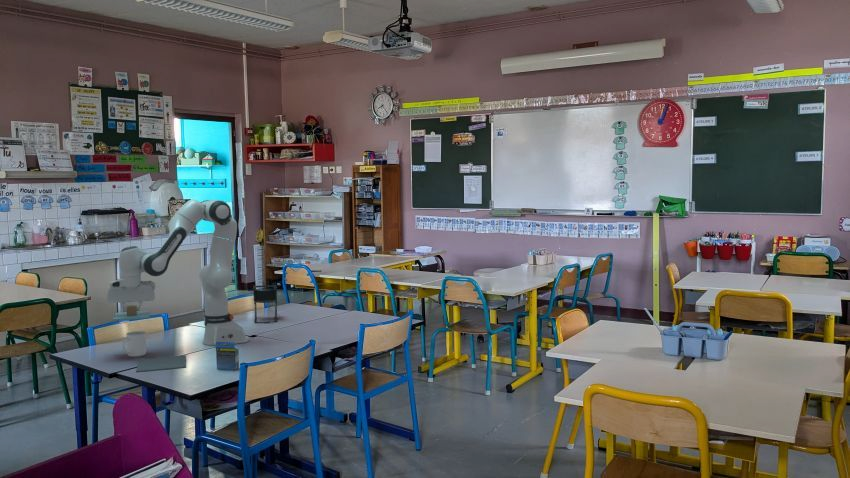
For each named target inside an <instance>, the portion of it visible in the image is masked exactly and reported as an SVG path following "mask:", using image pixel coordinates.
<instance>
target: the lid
mask: <svg viewBox="0 0 850 478" xmlns="http://www.w3.org/2000/svg"><path fill="white" fill-rule="evenodd" d="M136 307H138V305H136V304H135V305H127V306H126V308H127V312H124V311H122V312H115V314H114V316H113V317H112V321H113V322H114V321H116V322H117V321H127V320H128V321H129V320H131V321H133V320H143V319H144V320H147V319H150V315H151V310H140V311H136V310H137V309H136Z"/></svg>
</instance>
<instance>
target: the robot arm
mask: <svg viewBox="0 0 850 478" xmlns="http://www.w3.org/2000/svg"><path fill="white" fill-rule="evenodd" d="M170 218H171V219H170V220H169V222H168V225H167V227H168V228H167V229H168V231H169V234H168V237H167V239H165V241H164V243H162V245H161V247H160V248H159V250H158V251H156V252H151V251H148V250H147V251H146V250H145V249H142V248H140V247H138V246H137V245H133V246H128V247H123V248H122V249H121V251H120V252H119V269H120V274H119V278H117V279H115V280H112V281H110V282H109V288H108V291H107V297H106V302H107V303H108V304H118V303H120V306H121V307H122V308H123V312H127V307H126V306H125V303H133V302H135V303H136V302H138V304H139V305H138V306H137V307H136V309H137V310H136V311H137V312H138V311H141V307H142V305H143V302H151V301H155V298H156V295H155V294H156V293H155V289H156V283H155V282H154V281H152V280H142V273H146V274H148V275H149V276H152V277H160V276H162V275H163V274H165V273H166V272H167V270H168V268H169V264H170V262H171V261H170V260H171V259H172V257H173V256H174V255H175V253H176V252H177V251H178V249H179V248H180V246H181V245H182V243H183V242H184V240H186V238H187V237H188V236H189V235H190V233H191V232H192V231H193V230H194V228H196V226H197V225H198V224H199V222H201V221H206V222H209V223H213V225H214V231H213V233H212V234H213V235H212V237H211V238H212V239H211V244H210V248H209V255H210V257H209V258H210V259H209V264H207V265H204V266H202V267H201V268H200V270H199V278H200V282H201V287H202V293H203V298H204V317H203V321H204V322H203V323H204V333H203V340H202V344H203V345H207V346H215V347H216V342H234V344H235V345H236V344H245V343H248V342H249V341H250V337H249V336H248V335H246V334H245V330H244V328H243V327H242V326H241V325H240V324H238V323H237V322H235V321H234V318H235V317H234V315H233V314H231V313H229V301H228V300H229V299H228V295H227V292H226V289H225V288H228V287H229V286H230V285H231V284H232V282H233V274H232V263H233V262H232V261H233V260H232V259H233V253H234V248H235V244H236V240H237V239H236V238H237V233H238V232H237V231H238V223H237V221H236V219H235V218H233V216H232V210H231V206H230V205H229V204H228V203H227V202H226V201H224V200H217V199H207V200H203V201H201V202H200V201H199V200H196V199H190V200H188V201H186V202H185V203H184V204H183V205H182V206H180V207H179V209H178V210H177V211H176V212H175V213H174V214H173V215H172V217H170ZM223 346H227V345H226V344H224V345H223Z"/></svg>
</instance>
